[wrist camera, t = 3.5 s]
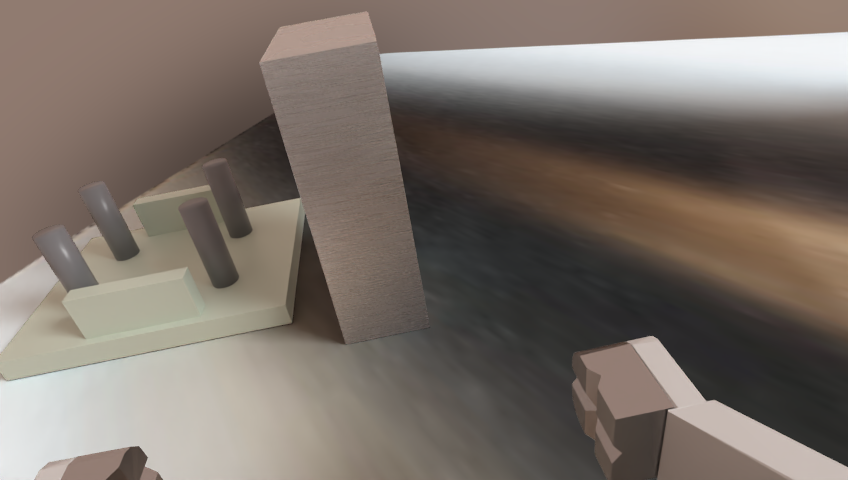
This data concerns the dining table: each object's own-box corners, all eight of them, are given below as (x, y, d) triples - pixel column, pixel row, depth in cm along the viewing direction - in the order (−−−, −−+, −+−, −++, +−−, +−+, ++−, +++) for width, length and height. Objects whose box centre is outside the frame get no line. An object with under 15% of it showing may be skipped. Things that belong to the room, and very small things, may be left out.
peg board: (305, 212, 31) (280, 132, 28) (292, 323, 22) (254, 222, 20) (100, 252, 30) (55, 174, 28) (7, 380, 22) (-71, 286, 19)
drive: (412, 248, 26) (368, 11, 20) (430, 327, 21) (377, 40, 15) (344, 261, 26) (279, 27, 20) (345, 344, 21) (258, 62, 15)
